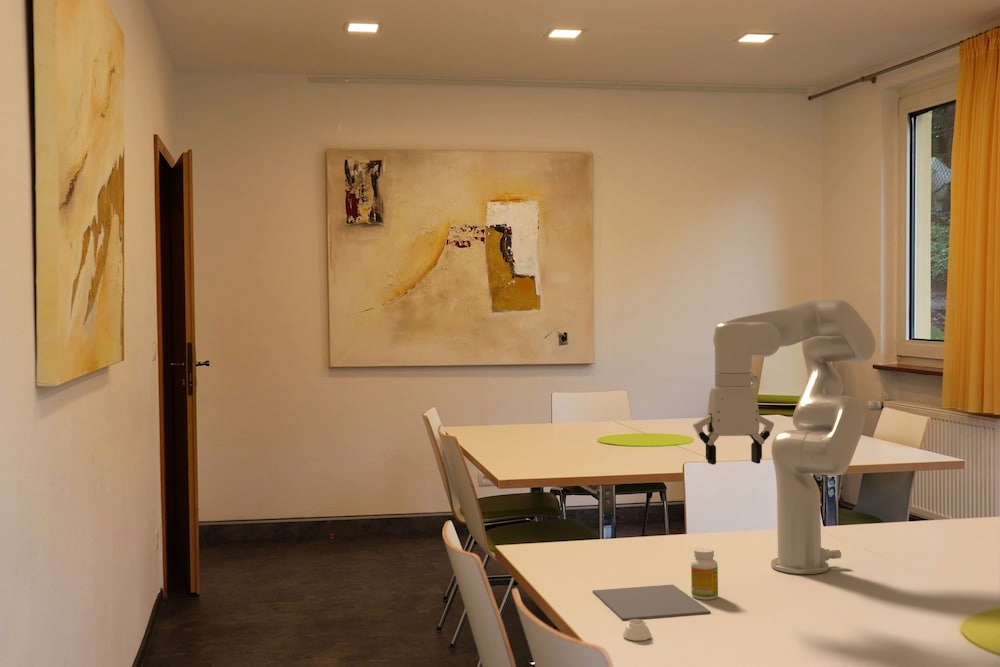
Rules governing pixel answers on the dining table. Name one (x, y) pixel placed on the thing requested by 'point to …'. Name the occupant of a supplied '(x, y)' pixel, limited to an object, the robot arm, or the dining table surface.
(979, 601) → the dining table surface
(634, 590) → the felt mat
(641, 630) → the lidless jar
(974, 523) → the dining table surface
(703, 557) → the supplement bottle
